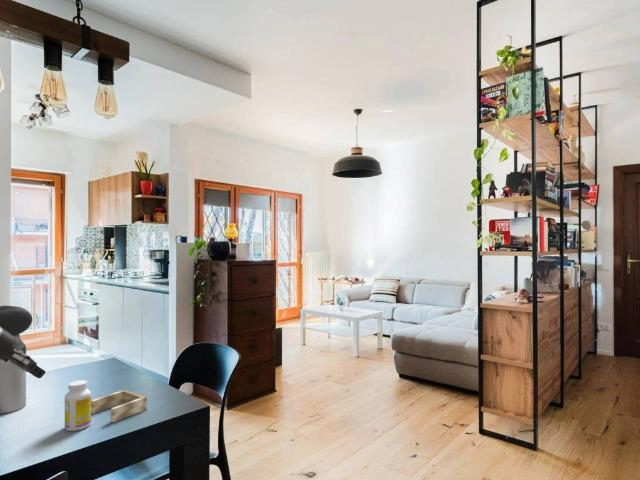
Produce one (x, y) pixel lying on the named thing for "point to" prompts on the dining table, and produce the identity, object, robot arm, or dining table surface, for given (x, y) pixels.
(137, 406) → the birch caddy
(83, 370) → the dining table surface
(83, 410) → the supplement bottle
